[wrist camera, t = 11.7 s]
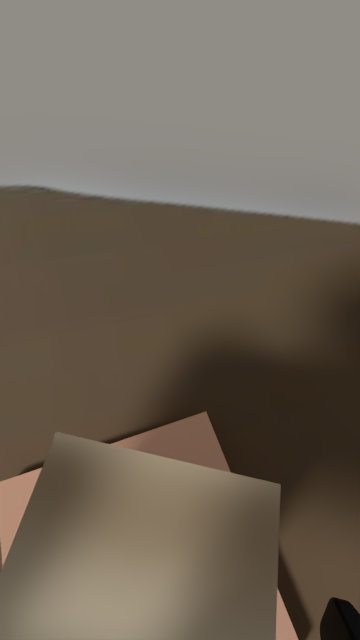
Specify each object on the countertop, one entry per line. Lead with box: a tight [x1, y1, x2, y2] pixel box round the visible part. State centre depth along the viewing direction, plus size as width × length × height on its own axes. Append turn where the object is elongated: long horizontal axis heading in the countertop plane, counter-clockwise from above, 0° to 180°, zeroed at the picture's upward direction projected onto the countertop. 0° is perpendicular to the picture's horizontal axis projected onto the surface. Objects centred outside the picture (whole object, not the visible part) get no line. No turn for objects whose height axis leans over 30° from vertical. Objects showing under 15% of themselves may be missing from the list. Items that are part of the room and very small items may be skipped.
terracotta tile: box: [0, 411, 298, 640], centre depth 15 cm, size 11×11×1 cm
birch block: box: [0, 432, 281, 640], centre depth 11 cm, size 6×6×10 cm
